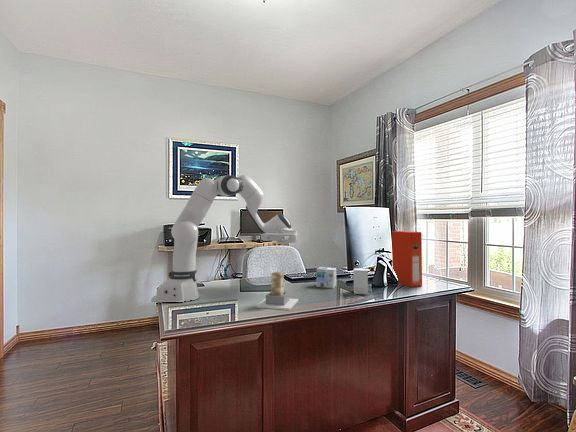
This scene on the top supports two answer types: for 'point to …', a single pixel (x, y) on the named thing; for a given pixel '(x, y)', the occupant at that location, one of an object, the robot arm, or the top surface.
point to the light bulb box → (326, 277)
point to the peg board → (277, 302)
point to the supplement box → (360, 281)
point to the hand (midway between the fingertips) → (275, 237)
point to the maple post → (277, 283)
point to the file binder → (407, 257)
